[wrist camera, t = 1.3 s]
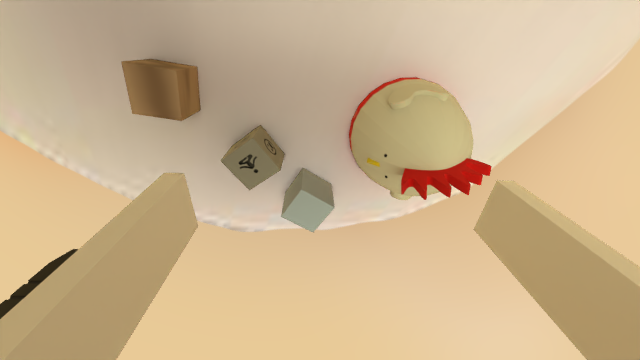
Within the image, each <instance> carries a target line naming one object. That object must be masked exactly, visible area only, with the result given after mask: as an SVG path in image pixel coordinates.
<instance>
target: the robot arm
mask: <svg viewBox="0 0 640 360" xmlns="http://www.w3.org/2000/svg"><path fill="white" fill-rule="evenodd" d="M197 227H198V224H197V220H196V216H195V213H194V209H193V205H192V201H191V198H190V194H189V190H188V187H187V183H186V179H185V175H184V173H164V174H163V175H161V176H160V177H159V178H158V179H157V180H156V181H155V182H154V183H153V184H151V185H150V186H149V187H148V188H147V189H146V190H145V191H144V192H142V193H141V194H140V195H139V196H138V197H137V198H136V199H135V200H133V201H132V202H131V203H130V204H129V205H128V206H127V207H126V208H125V209H123V210H122V211H121V212H120V213H119V214H118V215H117V216H116V217H114V218H113V219H112V220H111V221H110V222H109V223H108V224H107V225H105V226H104V227H103V228H102V229H101V230H100V231H99V232H98V233H96V234H95V235H94V236H93V237H92V238H91V239H90V240H89V241H87V242H86V243H85V244H84V245H83V246H82V247H81V248H80V249H73V250H71V251H69V252H67V253H66V254H64V255H62V256H61V257H59V258H57V259H55V260H54V261H52V262H50V263H49V264H48V265H46V266H45V267H44V268H43V269H41V270H40V271H39V272H38V273H37V274H36V275H34V276H33V277H32V278H31V279H30V280H28V281H29V282H28V284H24V285H23V286H21V287H20V288H19V289H18V290H17V291H16V292H14V293H13V294H12V295H11V297H10V299H9V300H5V301H4V302H2V303H1V304H0V360H116V359H117V358H118V356H119V354H120V353H121V351H122V350H123V348H124V346H125V345H126V343H127V341H128V340H129V338H130V336H131V335H132V333H133V332H134V330H135V328H136V327H137V325H138V323H139V322H140V320H141V318H142V317H143V315H144V314H145V312H146V310H147V309H148V307H149V305H150V304H151V302H152V301H153V299H154V297H155V296H156V294H157V292H158V291H159V289H160V288H161V286H162V284H163V283H164V281H165V279H166V278H167V276H168V275H169V273H170V271H171V270H172V268H173V266H174V265H175V263H176V261H177V260H178V258H179V257H180V255H181V253H182V252H183V250H184V248H185V247H186V245H187V244H188V242H189V240H190V239H191V237H192V235H193V234H194V232H195V230H196V229H197ZM474 230H475V231H476V233H477V234H478V235H479V236H480V237H481V238H482V240H483V241H484V242H485V243H486V244H487V245H488V247H489V248H490V249H491V250H492V251H493V252H494V253H495V255H496V256H497V257H498V258H499V259H500V260H501V261H502V263H503V264H504V265H505V266H506V267H507V268H508V269H509V271H510V272H511V273H512V274H513V275H514V276H515V278H516V279H517V280H518V281H519V282H520V283H521V284H522V286H523V287H524V288H525V289H526V290H527V291H528V293H530V295H531V296H532V297H533V298H534V299H535V300H536V302H537V303H538V304H539V305H540V306H541V307H542V309H543V310H544V311H545V312H546V313H547V314H548V316H549V317H550V318H551V319H552V320H553V321H554V322H555V323H556V325H557V326H558V327H559V328H560V329H561V330H562V332H563V333H564V334H565V335H566V336H567V337H568V338H569V340H570V341H571V342H572V343H573V344H574V345H575V347H576V348H577V349H578V350H579V351H580V352H581V353H582V355H583V356H584V357H585V358H586V359H587V360H640V267H639V266H638V265H636V264H635V263H633V262H632V261H630V260H629V259H627V258H626V257H624V256H623V255H622V254H620V253H618V252H617V251H615V250H614V249H613V248H611V247H610V246H608V245H607V244H605V243H604V242H603V241H601V240H600V239H598V238H596V237H595V236H594V235H592V234H591V233H589V232H588V231H586V230H585V229H583V228H582V227H581V226H579V225H578V224H576V223H574V222H573V221H572V220H570V219H569V218H567V217H566V216H564V215H563V214H562V213H560V212H559V211H557V210H555V209H554V208H553V207H551V206H550V205H548V204H547V203H545V202H544V201H542V200H541V199H539V198H538V197H536V196H535V195H534V194H532V193H531V192H529V191H528V190H526V189H525V188H523V187H522V186H520V185H519V184H518V183H516V182H515V181H496V184H495V186H494V188H493V190H492V192H491V194H490V196H489V198H488V200H487V203H486V205H485V207H484V209H483V211H482V213H481V215H480V217H479V219H478V222H477V224H476V226H475V228H474Z"/></svg>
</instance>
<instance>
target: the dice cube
mask: <svg viewBox="0 0 640 360" xmlns="http://www.w3.org/2000/svg"><path fill="white" fill-rule="evenodd" d="M283 158H284V153H283V151H282V150H281V149H280V148H279V147H278V145H277V144H276V143H275V142H274V140H273V139H272V138H271V137H270V136H269V134H268V133H267V132H266V131H265V129H264V128H263V127H262V126H261V125H260V126H259V127H257V128H256V129H255V130H253V131H252V132H250V133H249V134H248V135H246V136H245V137H244V138H242V139H241V140H239V141H238V142H237V143H235V144H234V145H233V146H232V147H231V148H230V149H229V151H228V152H227V153H226V154H225V156H224V157H223V158H222V160H221V162H222V163H223V164H224V165H225V166H226V167H227V168H228V169H229V170H230V171H231V172H232V173H233V174H234V175H235V176H236V177H237V178H238V179H239V180H240V181H241V182H242V183H243V184H244V185H245V186H246V187H247V188H248V189H249V190H251V189H252V188H254V187H255V186H257V185H258V184H260V183H261V182H263V181H265V180H266V179H268V178H269V177H271V176H272V175H274V174H275V173H277V172H278V171H280V170H281V166H282V162H283Z"/></svg>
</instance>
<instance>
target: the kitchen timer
mask: <svg viewBox="0 0 640 360" xmlns="http://www.w3.org/2000/svg"><path fill="white" fill-rule="evenodd" d="M349 138H350V147H351V150H352V153H353V155H354V157H355V160H356V162H357V164H358V166H359V167H360V168H361V169H362V170H363V171H364V172H365V174H366V175H367V176H368V177H369V178H370V179H372V180H373V181H375V182H376V183H378V184H379V185H381V186H383V187H385V188H386V189H388V190H390V191H391V192H390V194H391V196H392V197H394V198H396V199H400V200H408V199H409V198H410V197H411V196H421V197H422V198H423V199H424V200H426V199H427V195H431V194H434V193H438V192H441V193H443V194H444V195H446V196H447V197H449V198H450V196H451V185H452V186H454V187H455V188H457V189H458V190H460V191H461V192H463V193H465V194H467V195H469V190H470V183H469V182H471V183H474V184H477V185H481V182H482V177H483V175H488V176H489V175H490V171H491V166H490V165H487V164H485V163H482V162H479V161H476V160H473V159H471V155H472V148H473V136H472V131H471V125H470V122H469V120H468V118H467V117H466V115H465V113H464V112H463V110H462V108H461V107H460V105H459V103H458V102H457V100H456V99H455V97H454V96H453V95H451V94H450V93H449V92H448V91H446V90H445V89H444V88H442V87H441V86H440V85H438V84H436V83H433V82H430V81H426V80H423V79H420V78H399V79H396V80H393V81H390V82H387V83H384V84H383V85H381V86H380V87H378V88H377V89H375V90H374V91H372V92H371V93H369V95H368V96H367V97H366V98H365V99H364V100H363V101H362V103H361V104H360V105H359V106H358V108H357V110H356V112H355V114H354V116H353V118H352V121H351V127H350V132H349ZM482 174H483V175H482Z"/></svg>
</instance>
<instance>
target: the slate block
mask: <svg viewBox="0 0 640 360" xmlns="http://www.w3.org/2000/svg"><path fill="white" fill-rule="evenodd" d="M333 209H334V200H333V193H332V186H331V184H330V183H328V182H327V181H325V180H323V179H322V178H320V177H318V176H317V175H315V174H313V173H311V172H310V171H308V170H306V169H305V168H303V169H302V170H301V171H300V173H299V174H298V176H297V177H296V178H295V180H294V181H293V183H292V184H291V185H290V187H289V188H288V189H287V191H286V192H285V198H284V203H283V209H282V215H281V217H283V218H285V219H287V220H289V221H291V222H293V223H295V224H297V225H299V226H301V227H303V228H305V229H307V230H309V231H311V232H314V231H315V230H316V228H317V227H318V226H319V225H320V224H321V223H322V222H323V220H324V219H325V218H326V217H327V216H328V215H329V213H330V212H331V211H332V210H333Z"/></svg>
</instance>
